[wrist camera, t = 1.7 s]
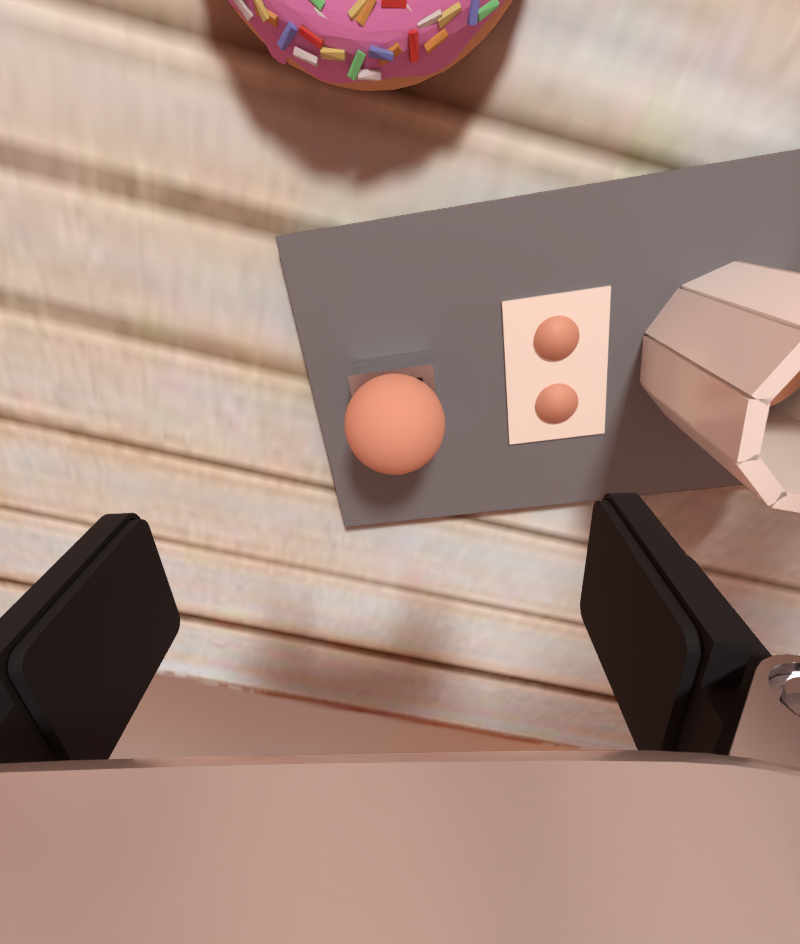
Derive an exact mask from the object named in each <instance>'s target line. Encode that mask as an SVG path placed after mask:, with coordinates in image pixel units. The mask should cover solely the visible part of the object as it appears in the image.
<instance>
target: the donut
mask: <svg viewBox="0 0 800 944" xmlns="http://www.w3.org/2000/svg"><path fill="white" fill-rule="evenodd" d="M227 1H228V2H229V3H230V4H231V5H232V6H233V8H234V9H235V11H236V12H237V14H238V15H239V16H240V18H241V19H242V20H243V21H244V22H245V23H246V24H247V25H248V27H249V28H250V29H251V30H252V31H253V32H254V33H255V34H256V36H257V37H258V38H259V39H260V40H261V41H262V42H263V43H264V44H266V46H267V48H268V50H269V52H270V54H271V56H272V57H274V58H275V59H276V60H277V61H278V62H279V63H282V64H285V65H286V64H290V65H292V66H294V67H295V68H297V69H299V70H301V71H303V72H305V73H307V74H309V75H311V76H312V77H314V78H316V79H318V80H320V81H322V82H325V83H328V84H331V85H334V86H338V87H343V88H349V89H355V90H360V91H380V90H396V89H400V88H404V87H407V86H411V85H415V84H418V83H420V82H423V81H425V80H427V79H429V78H431V77H433V76H435V75H437V74H440V73H442V72H444V71H446V70H448V69H449V68H451V67H452V66H453V65H455V64H456V63H457V62H459V61H460V60H461V59H463V58H464V57H465V56H467V55H468V54H469V53H470V52H471V51H472V50H473V49H474V48H475V47H476V46H477V45H478V44H479V43H480V42H481V41H482V40H483V39H484V38H485V37H486V36H487V35H488V34H489V33H490V32H491V30H492V29H493V28H494V27H495V26H496V24H497V23H498V21H499V20H500V19H501V17H502V16H503V14H504V13H505V11H506V10H507V8H508V7H509V5H510V4H511V3H512V1H513V0H227Z"/></svg>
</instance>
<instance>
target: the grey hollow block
mask: <svg viewBox="0 0 800 944" xmlns="http://www.w3.org/2000/svg"><path fill="white" fill-rule="evenodd" d="M393 373H396V374H405V375H409V376H412V377H415V378H423V382H424V383H425V384H426V385H427V386H429V387H430V388H431V389H432V391H433V392H434V393H435V394H436V396H437V392H436V383H435V375H434V367H433V358H432V350H431V349H427V350H420V351H413V352H406V353H398V354H391V355H384V356H377V357H370V358H363V359H355V360H354V361H353V364H352V367H351V369H350V372H349V374H348V380H349V385H350V390H351V394H352V397H353V395H354V394H355V392H356V391H357V390H358V389H359V388H360V387H361V386H362V385H363V384H365V383H366V382H368V381H369V380H371V379H373V378H375V377H378V376H380V375H385V374H393Z"/></svg>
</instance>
